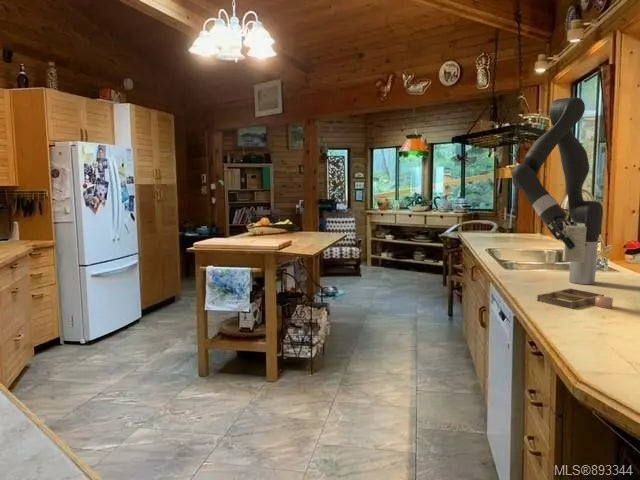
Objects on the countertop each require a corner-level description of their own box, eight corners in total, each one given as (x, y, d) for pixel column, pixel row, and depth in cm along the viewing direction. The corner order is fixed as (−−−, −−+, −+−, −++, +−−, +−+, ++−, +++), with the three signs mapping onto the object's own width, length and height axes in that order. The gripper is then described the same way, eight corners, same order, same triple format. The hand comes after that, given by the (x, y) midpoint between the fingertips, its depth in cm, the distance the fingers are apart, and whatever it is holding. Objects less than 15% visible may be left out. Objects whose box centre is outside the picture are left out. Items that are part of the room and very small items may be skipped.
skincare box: (581, 261, 171) (585, 226, 170) (583, 263, 167) (587, 227, 165) (561, 259, 173) (565, 224, 172) (563, 261, 169) (566, 225, 167)
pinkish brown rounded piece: (599, 304, 168) (600, 295, 167) (614, 307, 164) (615, 298, 163) (591, 306, 165) (592, 297, 165) (607, 309, 161) (608, 300, 160)
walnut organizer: (569, 293, 182) (569, 288, 182) (603, 300, 172) (604, 294, 172) (537, 300, 170) (537, 295, 170) (571, 308, 161) (572, 302, 160)
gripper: (545, 203, 170) (575, 241, 161) (568, 203, 178) (598, 239, 170) (529, 217, 175) (558, 255, 166) (552, 216, 183) (581, 252, 175)
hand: (578, 247), depth 168 cm, fingers closed on skincare box, 7 cm apart
